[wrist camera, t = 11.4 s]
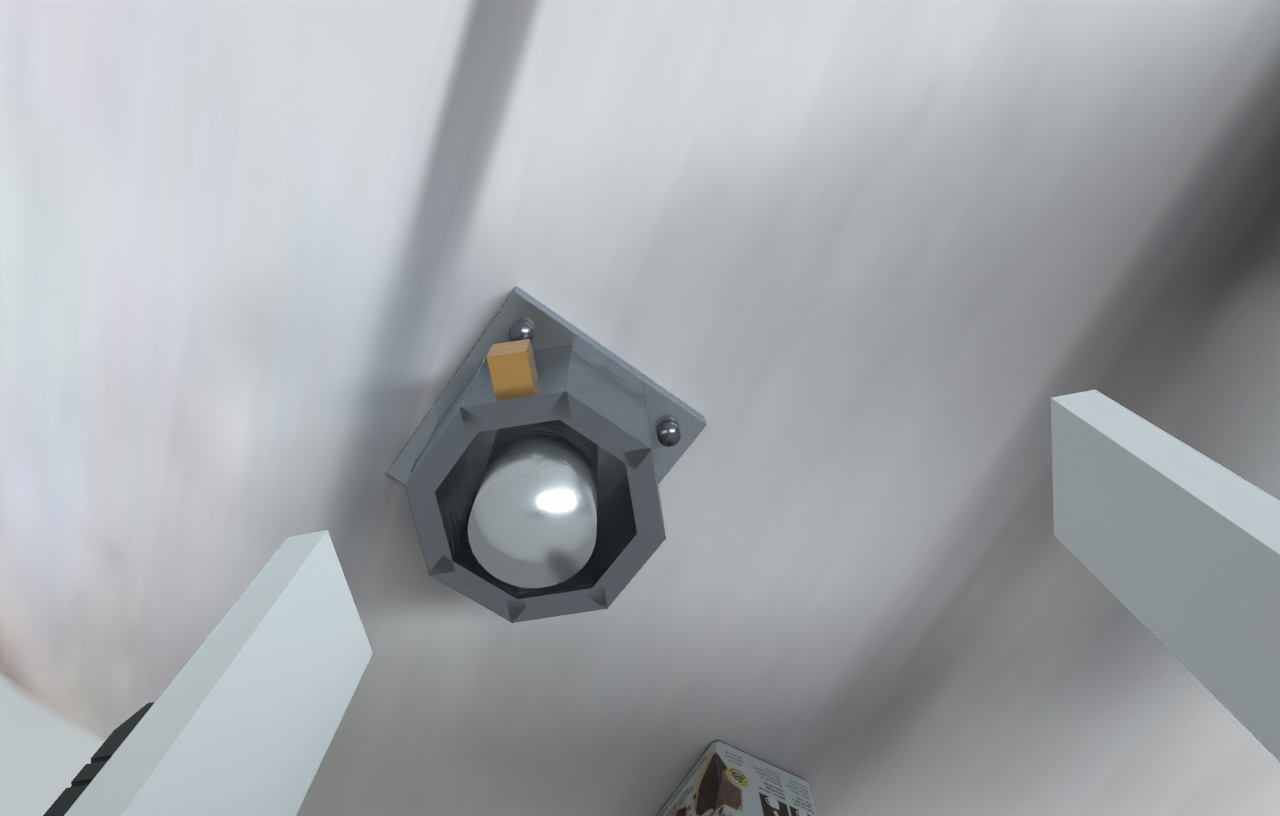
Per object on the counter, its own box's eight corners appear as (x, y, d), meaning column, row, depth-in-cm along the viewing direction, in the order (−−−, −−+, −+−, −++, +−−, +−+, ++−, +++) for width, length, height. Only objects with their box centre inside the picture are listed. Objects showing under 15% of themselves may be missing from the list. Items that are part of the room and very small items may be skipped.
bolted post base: (703, 416, 37) (731, 502, 29) (575, 575, 39) (568, 695, 31) (516, 286, 34) (490, 340, 26) (392, 464, 37) (334, 563, 29)
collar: (664, 524, 37) (675, 598, 32) (468, 554, 37) (444, 633, 32) (629, 300, 34) (634, 338, 28) (412, 333, 34) (374, 378, 28)
